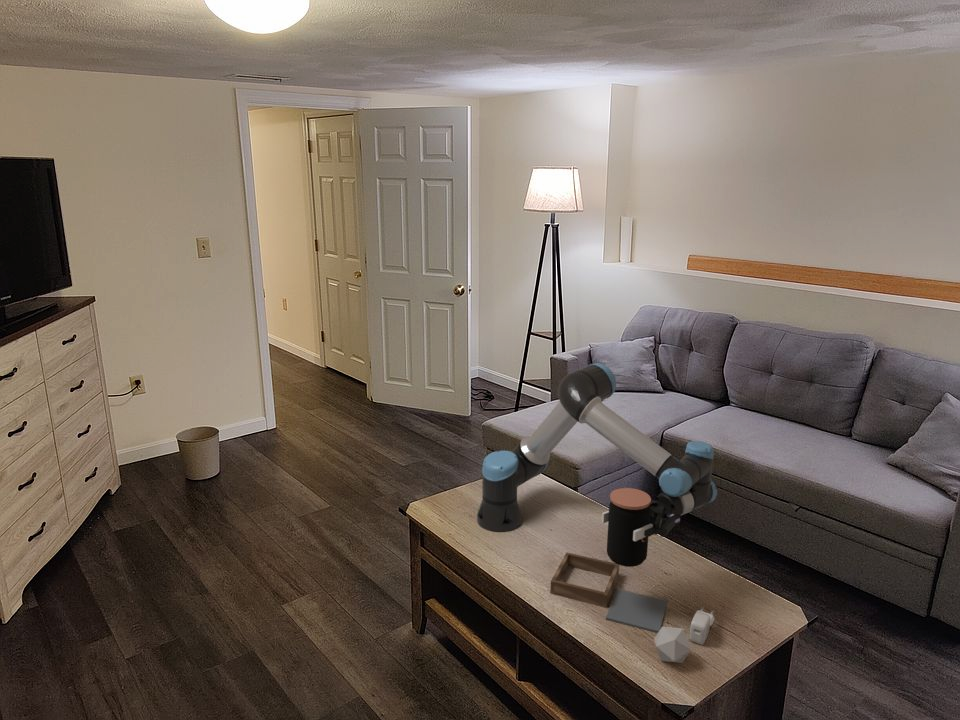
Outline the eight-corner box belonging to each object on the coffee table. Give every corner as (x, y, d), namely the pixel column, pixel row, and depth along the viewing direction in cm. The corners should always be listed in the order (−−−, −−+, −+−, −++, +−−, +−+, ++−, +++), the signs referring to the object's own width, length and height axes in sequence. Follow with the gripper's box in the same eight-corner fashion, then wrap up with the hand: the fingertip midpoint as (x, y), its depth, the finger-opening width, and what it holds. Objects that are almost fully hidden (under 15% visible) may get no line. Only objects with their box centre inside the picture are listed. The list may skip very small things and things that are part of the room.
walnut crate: (566, 563, 206) (566, 552, 205) (618, 576, 200) (619, 564, 199) (550, 593, 192) (550, 581, 191) (606, 607, 186) (607, 595, 185)
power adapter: (697, 617, 182) (699, 598, 181) (716, 623, 180) (718, 604, 178) (686, 640, 173) (688, 621, 172) (705, 647, 171) (707, 628, 169)
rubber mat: (616, 590, 194) (617, 588, 193) (667, 602, 188) (667, 600, 188) (605, 619, 181) (605, 617, 181) (659, 633, 176) (659, 631, 176)
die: (678, 678, 162) (701, 645, 162) (647, 655, 163) (670, 622, 163) (673, 665, 170) (695, 634, 170) (644, 644, 171) (665, 612, 171)
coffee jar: (647, 570, 178) (652, 508, 173) (605, 565, 180) (609, 504, 175) (646, 548, 188) (650, 489, 183) (606, 544, 190) (610, 486, 185)
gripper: (706, 533, 183) (651, 559, 170) (641, 499, 201) (586, 521, 189) (709, 508, 181) (653, 533, 168) (642, 476, 199) (587, 497, 187)
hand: (618, 527), depth 178 cm, fingers closed on coffee jar, 11 cm apart
